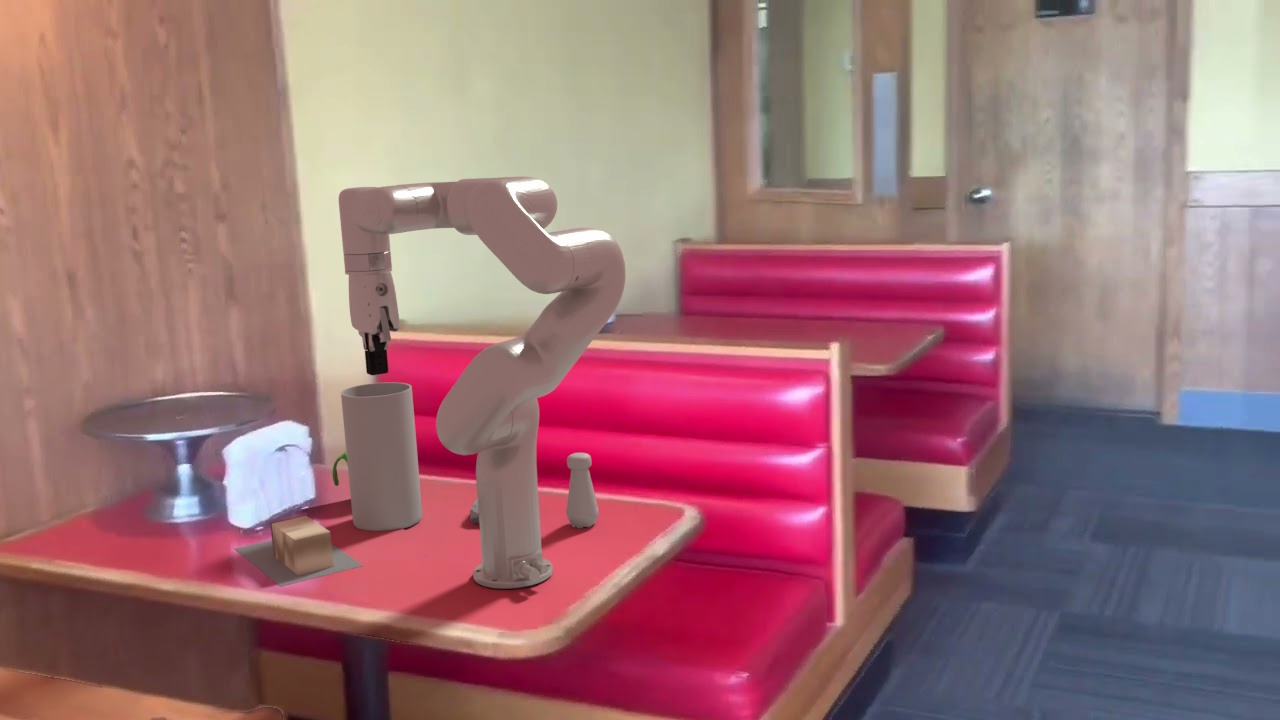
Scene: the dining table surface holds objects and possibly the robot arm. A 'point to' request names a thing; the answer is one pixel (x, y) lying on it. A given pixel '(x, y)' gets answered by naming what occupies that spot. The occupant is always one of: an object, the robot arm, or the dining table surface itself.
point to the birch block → (302, 544)
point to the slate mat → (282, 574)
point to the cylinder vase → (382, 456)
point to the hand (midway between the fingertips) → (377, 373)
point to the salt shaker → (581, 492)
